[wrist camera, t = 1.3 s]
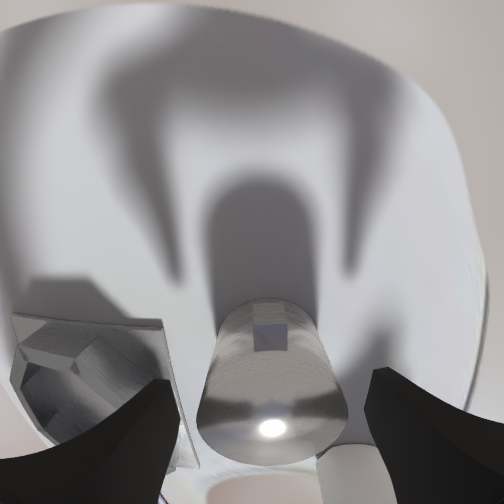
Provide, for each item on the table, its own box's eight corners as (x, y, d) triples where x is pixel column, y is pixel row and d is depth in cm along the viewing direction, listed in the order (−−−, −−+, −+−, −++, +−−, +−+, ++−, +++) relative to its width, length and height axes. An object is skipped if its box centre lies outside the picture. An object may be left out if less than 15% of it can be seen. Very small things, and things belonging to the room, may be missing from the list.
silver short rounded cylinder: (314, 378, 13) (336, 459, 8) (222, 382, 13) (208, 465, 8) (319, 276, 12) (363, 335, 6) (211, 280, 12) (178, 343, 7)
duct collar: (199, 465, 15) (194, 496, 12) (69, 436, 15) (55, 457, 12) (163, 327, 12) (141, 360, 10) (13, 312, 13) (-14, 329, 10)
